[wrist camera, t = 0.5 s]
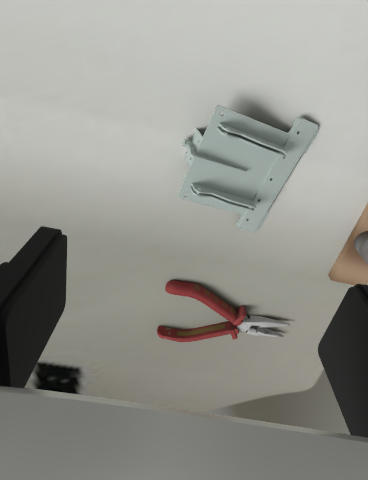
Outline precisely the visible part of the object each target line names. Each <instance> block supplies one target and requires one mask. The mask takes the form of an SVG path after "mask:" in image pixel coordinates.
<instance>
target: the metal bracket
mask: <svg viewBox="0 0 368 480" xmlns="http://www.w3.org/2000/svg"><path fill="white" fill-rule="evenodd" d="M221 111H224V112H225V113H224V115H220V112H221ZM318 130H319V125H317V124H315V123H313V122H310V121H308V120H306V119H303V118H301V117H298V118H297V119H296V121H295V122H294V124H293V126H292V128H291V130H290V131H289V132H284V131H282V130H279V129H277V128H274V127H272V126H269V125H267V124H264V123H262V122H259V121H257V120H255V119H252V118H250V117H247V116H245V115H242V114H240V113H237V112H235V111H232V110H230V109H227V108H225V107H222V106H219V105H218V106H217V107H216V108H215V110H214V113H213V115H212V117H211V119H210V122H209V124H208V126H207V129H206V131H205V133H204V135H203V136H202V134H201V133H200V131H199V130H198V129H196V130H195V135H194V136H193V137H192V140H191V142H190V141H189V140H185V139H184V140H183V141H182V146H185V147H187V148H188V149H187V150H188V151H187V152H186V154H185V156H184V157H185V159H186V161H187V163H188V164H189V166H190V168H189V170H188V172H187V174H186V177H185V179H184V181H183V184H182V186H181V188H180V190H179V193H178V197H179V198H182V199H185V200H189V201H193V202H197V203H201V204H204V205H208V206H212V207H216V208H219V209H223V210H227V211H231V212H235V213H238V214H241V215H242V216H241V218H240V220H239V221H238V223H237V227H238V228H239V229H243V230H247V231H251V232H255V231H256V230H258V229H259V228H260V227H261V226H262V224H263V223H264V221H265V219H266V217H267V216H268V214H269V213H270V212H269V211H268V210H269V208H270V206H271V205H272V203H273V201H274V200H275V198H276V196H277V195H278V193H279V191H280V190H281V188H282V186H283V185H284V183H285V182H286V180H287V178H288V177H289V175H290V173H291V172H292V170H293V168H294V167H295V165H296V163H297V162H298V160H299V158H300V157H301V155H302V154H303V153H306V152H307V150H308V148H309V146H310V145H311V144H312V142H313V140H314V139H315V137H316V135H317V134H318ZM298 131H299V133H298V134H297V132H298ZM283 157H284V158H283ZM271 178H272V180H270V179H271ZM185 193H187V194H188V195H187V196H184V194H185ZM258 199H260V200H259V201H258ZM247 219H248V220H247ZM246 220H247V221H246Z"/></svg>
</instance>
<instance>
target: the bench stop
mask: <svg viewBox="0 0 368 480" xmlns="http://www.w3.org/2000/svg"><path fill="white" fill-rule="evenodd" d="M329 277H330V279H331V280H333V281H337V282H342V283H347V284H352V285H356V284H363V285H366V284H367V282H368V204H367V206H366V208H365V209H364V211H363V213H362V215H361V217H360V218H359V220H358V222H357V224H356V226H355V228H354V229H353V231H352V233H351V235H350V237H349V238H348V240H347V242H346V244H345V246H344V248H343V249H342V251H341V253H340V255H339V257H338V258H337V260H336V262H335V264H334V266H333V267H332V269H331V271H330V273H329Z"/></svg>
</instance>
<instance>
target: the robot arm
mask: <svg viewBox="0 0 368 480" xmlns="http://www.w3.org/2000/svg"><path fill="white" fill-rule="evenodd" d="M66 267H67V236H66V235H62V232H61V230H59V229H54V228H48V227H40V228H39V229H38V230H37V232H36V233H35V234H34V235H33V236H32V237H31V238H30V239H29V241H28V242H27V243H26V244H25V245H24V246H23V247H22V248H21V250H20V251H19V252H18V253H17V254H16V255H15V256H14V257H13V259H12V260H11V261H10V262H9V263H8V262H4V263H2V264H1V265H0V480H368V285H363V284H356V285H355V286H354V287H351V288H349V289H348V291H347V293H346V295H345V297H344V298H343V300H342V302H341V304H340V306H339V308H338V310H337V311H336V313H335V315H334V317H333V319H332V321H331V323H330V324H329V326H328V328H327V330H326V332H325V334H324V336H323V337H322V339H321V341H320V343H319V346H318V354H319V357H320V359H321V362H322V364H323V367H324V369H325V372H326V374H327V377H328V379H329V382H330V384H331V387H332V389H333V391H334V394H335V397H336V399H337V402H338V404H339V407H340V409H341V412H342V414H343V417H344V419H345V422H346V424H347V427H348V429H349V432H350V434H351V435H347V434H340V433H334V432H327V431H321V430H315V429H308V428H302V427H295V426H289V425H282V424H275V423H270V422H262V421H256V420H250V419H243V418H237V417H230V416H223V415H217V414H209V413H203V412H197V411H190V410H183V409H176V408H169V407H162V406H156V405H149V404H142V403H135V402H128V401H121V400H114V399H107V398H101V397H93V396H85V395H78V394H70V393H62V392H54V391H46V390H39V389H28V388H24V387H25V385H26V383H27V381H28V379H29V377H30V375H31V373H32V371H33V369H34V367H35V365H36V364H37V362H38V360H39V358H40V356H41V354H42V352H43V350H44V348H45V346H46V344H47V342H48V340H49V338H50V336H51V334H52V332H53V330H54V328H55V327H56V325H57V323H58V321H59V319H60V317H61V315H62V313H63V311H64V307H65V303H66Z"/></svg>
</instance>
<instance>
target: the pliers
mask: <svg viewBox="0 0 368 480" xmlns="http://www.w3.org/2000/svg"><path fill="white" fill-rule="evenodd" d="M166 291H167V292H168V293H170V294H174V295H181V296H188V297H192V298H194V299H197V300H199V301H201V302H202V303H204V304H205V305H207V306H208V307H210V308H211V309H213V310H214V311H216V312H217V313H218V314H220V315H221V316H223V317H224V318H226V319H227V320H229V321H227V322H222V323H218V324H213V325H208V326H204V327H199V328H194V329H186V330H182V329H174V328H169V327H164V326H158V329H157V334H158V336H159V337H161V338H163V339H168V340H173V341H178V342H191V341H197V340H202V339H207V338H212V337H217V336H222V335H227V334H231V335H232V338H233V339H237V334H238V333H239V331H246V333H248V334H252V335H260V336H274V337H283V335H282V334H279V333H277V332H275V331H272V330H270V329H268V328H265V327H278V326H289V325H290V324H289V323H285V322H281V321H278V320H274V319H270V318H266V317H262V316H256V315H250V317H249V318H248V317H247V316H246V310H245V307H244V306H240V307H239V308H238V309H237V310H236V309H234V308H233V307H231V306H230V305H229V304H227V303H226V302H224V301H223V300H221V299H220V298H219V297H217V296H216V295H214V294H213V293H212V292H210V291H209V290H207V289H206V288H204V287H202V286H200V285H198V284H195V283H190V282H183V281H176V280H171V281H169V282H167V284H166ZM251 325H252V326H251Z"/></svg>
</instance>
